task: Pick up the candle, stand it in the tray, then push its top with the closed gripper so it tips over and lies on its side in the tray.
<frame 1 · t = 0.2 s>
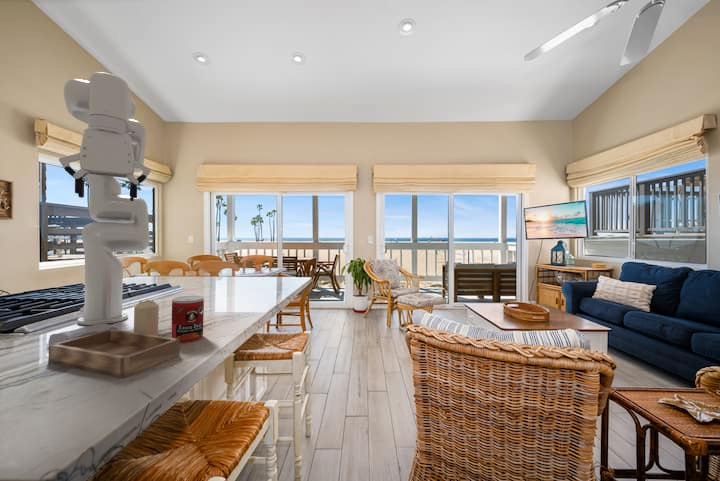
hand: (107, 198, 77), 36 cm above the counter, tool pointing down, fingers open, 9 cm apart
candle: (146, 338, 87), on the counter
tray: (116, 358, 72), on the counter
stone block: (82, 343, 83), on the counter
canned food: (187, 339, 87), on the counter
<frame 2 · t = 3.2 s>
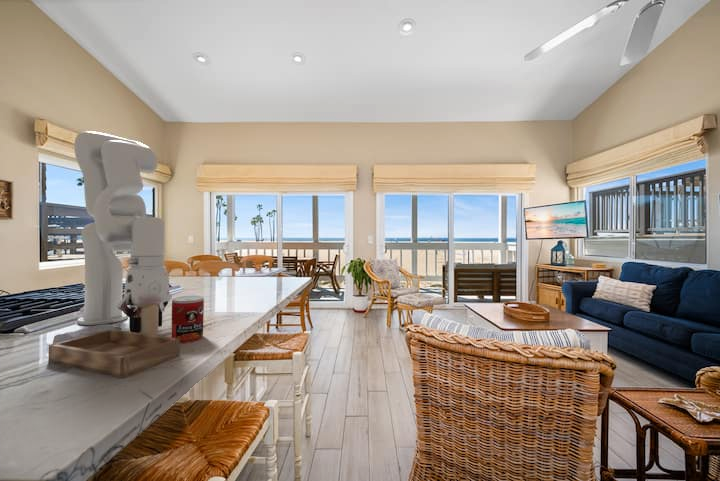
hand: (146, 328, 87), 3 cm above the counter, tool pointing down, fingers closed on candle, 5 cm apart
candle: (146, 338, 87), on the counter, touching gripper
stone block: (87, 343, 82), on the counter
everything else where it was.
when the fingers open (4 cm above the counter, at t = 7.3 s): candle stays where it is, resting on tray.
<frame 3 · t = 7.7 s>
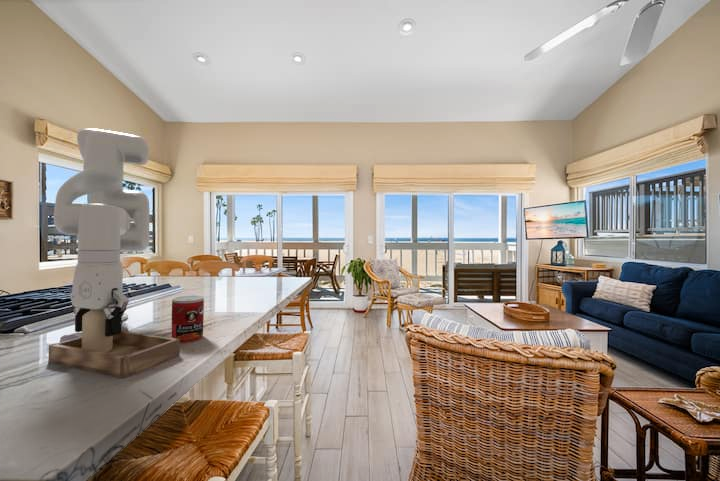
hand: (98, 332, 73), 5 cm above the counter, tool pointing down, fingers open, 9 cm apart
candle: (97, 352, 73), point 1 cm above the counter, touching tray
stone block: (93, 344, 82), on the counter
everything else where it was.
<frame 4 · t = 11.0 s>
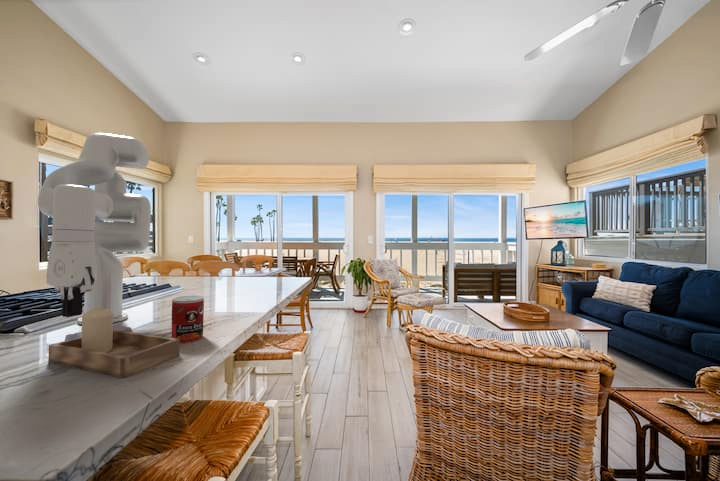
hand: (72, 315, 75), 8 cm above the counter, tool pointing down, fingers closed
stone block: (97, 343, 82), on the counter, touching tray
everything else where it was.
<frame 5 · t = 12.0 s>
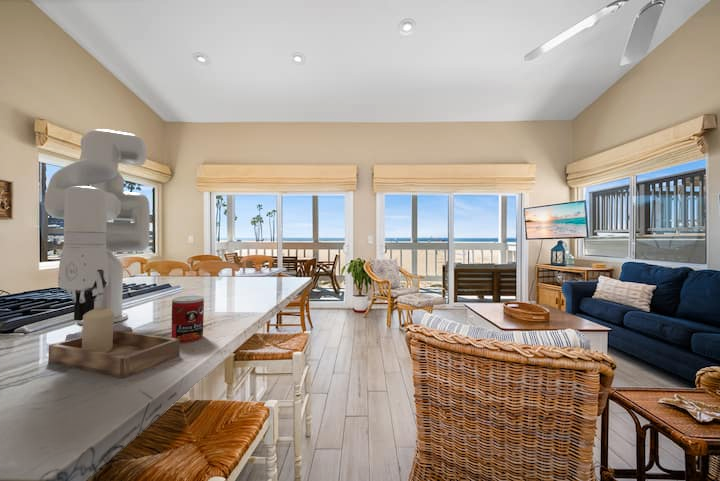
hand: (84, 319, 74), 8 cm above the counter, tool pointing down, fingers closed
candle: (97, 351, 73), point 1 cm above the counter, touching gripper, tray
stone block: (98, 343, 82), on the counter
everything else where it was.
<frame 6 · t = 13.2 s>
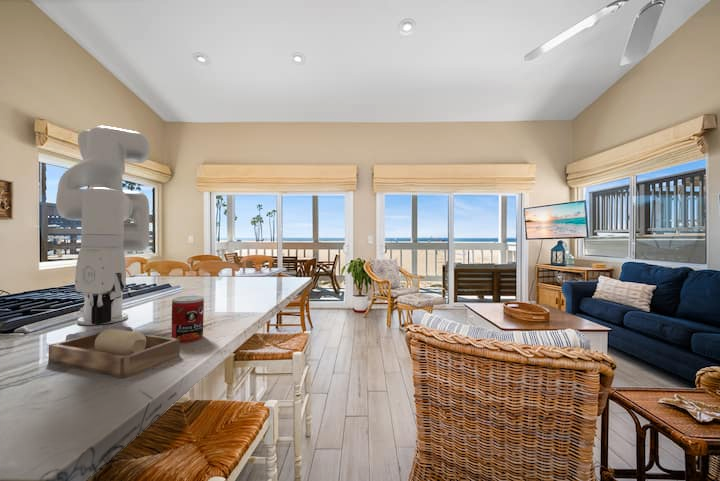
hand: (101, 322, 73), 8 cm above the counter, tool pointing down, fingers closed
candle: (106, 340, 73), point 4 cm above the counter, touching tray
everything else where it was.
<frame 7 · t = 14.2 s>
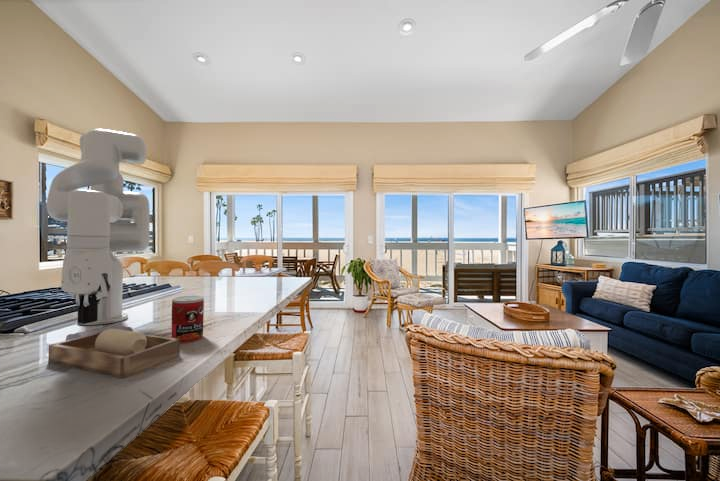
hand: (87, 322, 75), 7 cm above the counter, tool pointing down, fingers closed
nothing on the counter moved.
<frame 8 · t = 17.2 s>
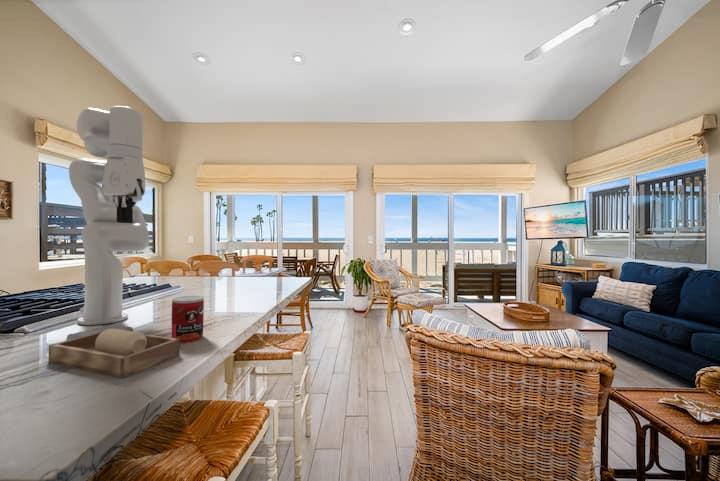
hand: (124, 222, 86), 31 cm above the counter, tool pointing down, fingers closed
nothing on the counter moved.
at the end: candle tilted 90°; candle inside the target area on the tray (3.7 cm from its centre), point 3.6 cm above the tray's base; the gripper is holding nothing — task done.
